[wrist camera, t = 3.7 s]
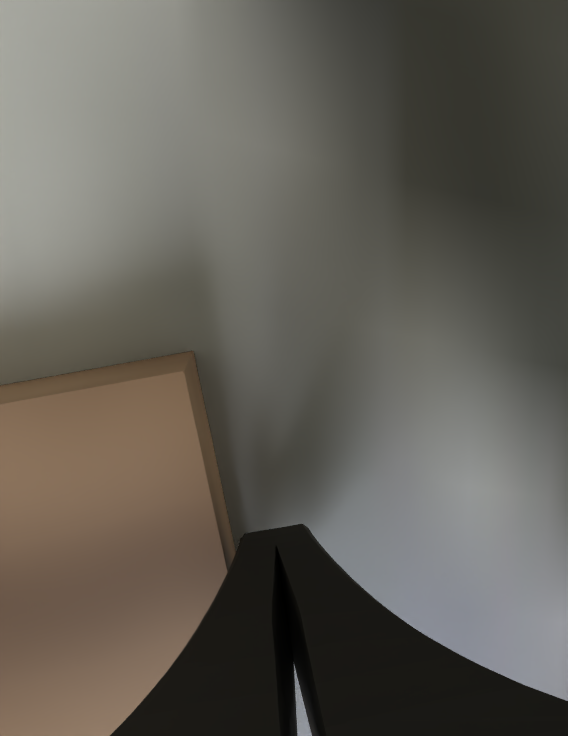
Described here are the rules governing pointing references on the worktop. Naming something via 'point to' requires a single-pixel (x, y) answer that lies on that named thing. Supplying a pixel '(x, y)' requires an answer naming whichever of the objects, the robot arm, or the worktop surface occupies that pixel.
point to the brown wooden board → (103, 540)
